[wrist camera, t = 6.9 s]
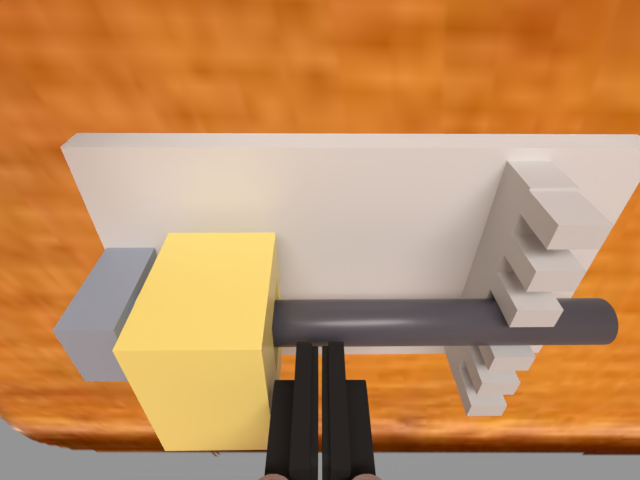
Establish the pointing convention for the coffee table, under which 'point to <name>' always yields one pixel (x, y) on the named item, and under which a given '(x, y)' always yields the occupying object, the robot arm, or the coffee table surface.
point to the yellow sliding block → (206, 341)
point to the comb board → (368, 239)
